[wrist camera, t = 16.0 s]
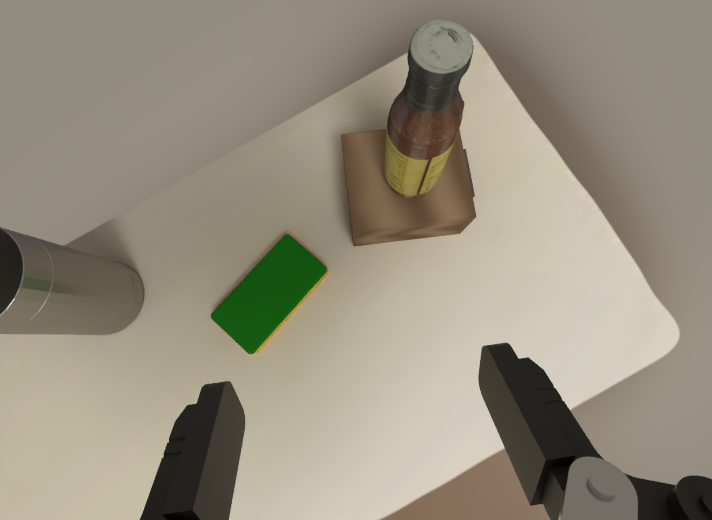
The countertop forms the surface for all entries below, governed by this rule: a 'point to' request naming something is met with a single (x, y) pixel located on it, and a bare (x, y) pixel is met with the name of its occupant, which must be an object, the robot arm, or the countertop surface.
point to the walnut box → (393, 212)
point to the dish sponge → (269, 294)
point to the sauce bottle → (427, 108)
